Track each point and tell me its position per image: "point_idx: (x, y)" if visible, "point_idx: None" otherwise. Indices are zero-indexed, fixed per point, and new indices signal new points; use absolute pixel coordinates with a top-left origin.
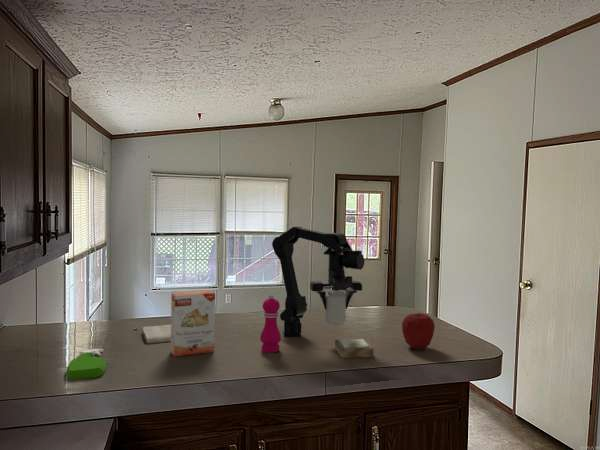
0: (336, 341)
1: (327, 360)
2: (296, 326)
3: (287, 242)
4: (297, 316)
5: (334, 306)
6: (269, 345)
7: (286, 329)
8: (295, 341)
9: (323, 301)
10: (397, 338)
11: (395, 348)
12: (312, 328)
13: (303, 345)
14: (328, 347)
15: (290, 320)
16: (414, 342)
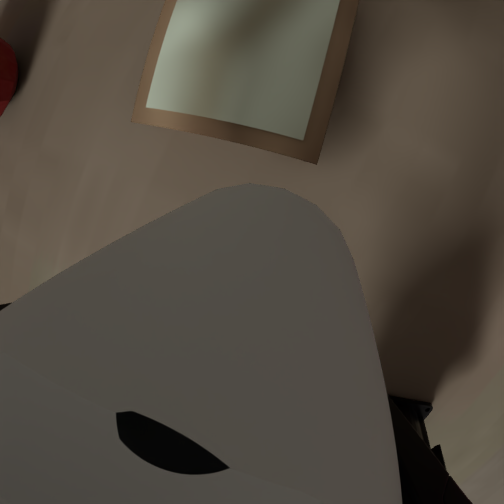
0: (327, 125)
1: (438, 15)
2: None
3: None
4: None
5: (314, 280)
6: None
7: (421, 431)
8: (438, 340)
9: (443, 470)
10: (10, 206)
11: (55, 84)
12: None
13: (445, 273)
14: (346, 186)
15: (440, 448)
16: (6, 45)
